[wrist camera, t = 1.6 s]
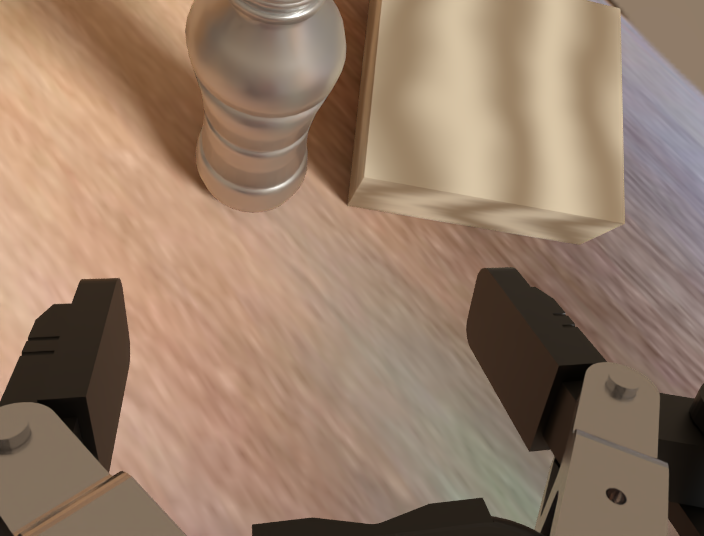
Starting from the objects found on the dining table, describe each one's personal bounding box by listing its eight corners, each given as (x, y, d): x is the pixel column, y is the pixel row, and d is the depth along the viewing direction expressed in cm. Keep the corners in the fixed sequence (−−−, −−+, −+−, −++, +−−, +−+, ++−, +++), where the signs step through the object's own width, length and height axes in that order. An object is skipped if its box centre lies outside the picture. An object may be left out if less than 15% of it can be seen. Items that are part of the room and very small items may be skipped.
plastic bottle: (208, 118, 38) (192, -168, 19) (310, 142, 40) (388, -108, 21) (187, 210, 37) (145, -6, 18) (293, 231, 38) (362, 50, 19)
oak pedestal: (347, 205, 39) (364, 177, 34) (369, 1, 43) (387, -50, 38) (579, 244, 42) (624, 223, 37) (579, 50, 46) (620, 8, 41)
